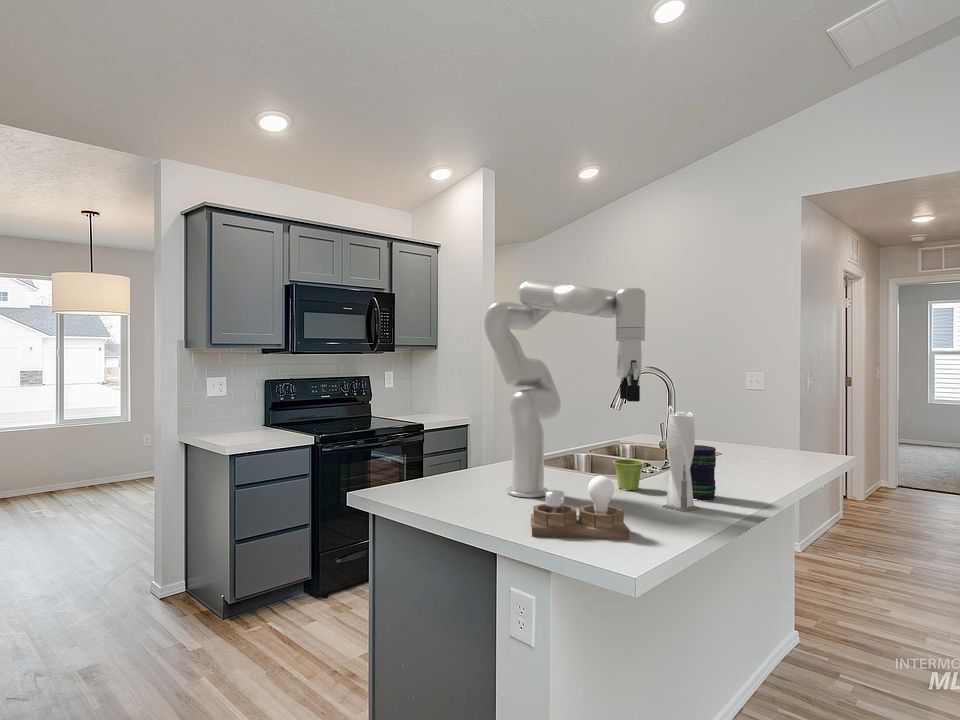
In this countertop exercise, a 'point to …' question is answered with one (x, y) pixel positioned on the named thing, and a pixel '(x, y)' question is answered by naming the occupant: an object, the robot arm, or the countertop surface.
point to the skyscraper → (680, 460)
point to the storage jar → (703, 472)
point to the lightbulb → (601, 493)
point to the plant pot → (628, 473)
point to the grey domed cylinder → (554, 501)
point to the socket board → (579, 523)
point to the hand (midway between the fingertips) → (629, 400)
